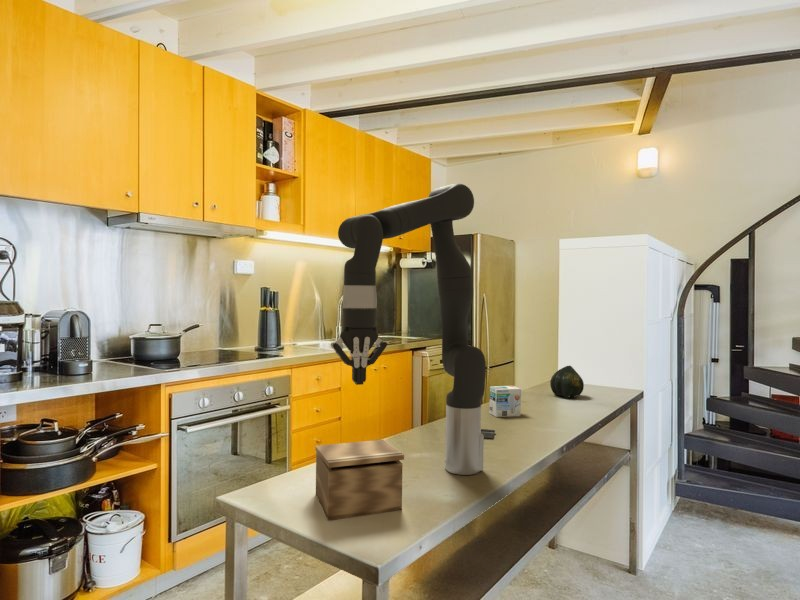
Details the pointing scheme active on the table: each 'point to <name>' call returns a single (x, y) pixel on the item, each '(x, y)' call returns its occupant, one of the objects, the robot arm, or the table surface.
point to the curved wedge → (488, 433)
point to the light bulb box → (505, 401)
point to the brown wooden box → (359, 488)
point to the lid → (358, 453)
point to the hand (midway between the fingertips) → (358, 384)
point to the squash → (567, 383)
